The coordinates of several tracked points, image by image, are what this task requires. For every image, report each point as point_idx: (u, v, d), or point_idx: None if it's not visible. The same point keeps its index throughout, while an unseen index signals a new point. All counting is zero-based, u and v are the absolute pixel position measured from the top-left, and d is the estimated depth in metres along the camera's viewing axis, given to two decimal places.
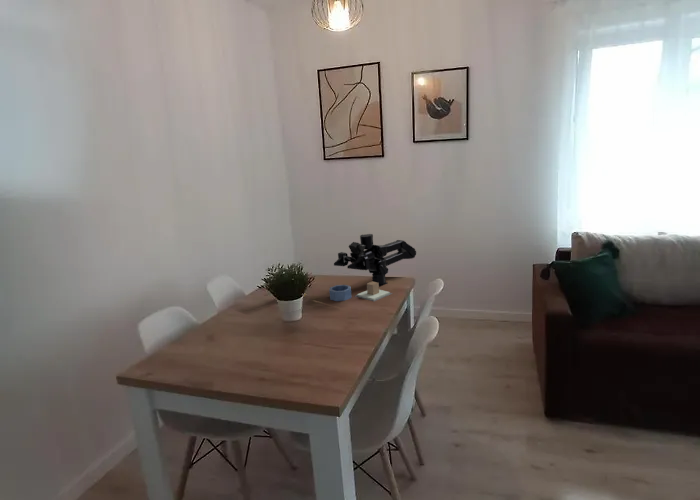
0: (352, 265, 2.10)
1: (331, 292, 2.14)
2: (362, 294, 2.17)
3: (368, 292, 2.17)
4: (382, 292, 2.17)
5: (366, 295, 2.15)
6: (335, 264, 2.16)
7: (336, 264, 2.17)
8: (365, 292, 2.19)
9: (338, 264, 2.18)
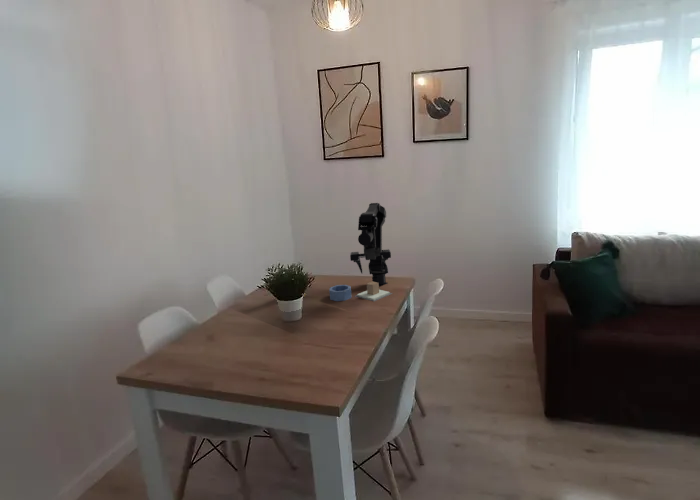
0: (383, 267, 2.14)
1: (331, 292, 2.14)
2: (362, 294, 2.17)
3: (368, 292, 2.17)
4: (382, 292, 2.17)
5: (366, 295, 2.15)
6: None
7: None
8: (365, 292, 2.19)
9: (361, 267, 2.15)
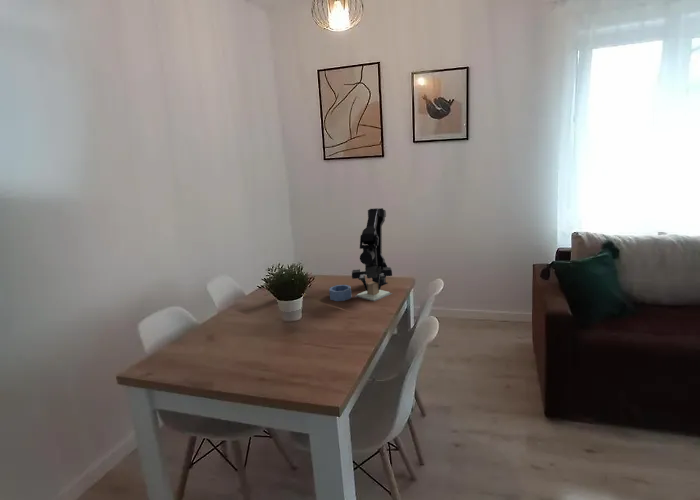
0: (380, 285, 2.16)
1: (331, 292, 2.14)
2: (362, 294, 2.17)
3: (368, 292, 2.17)
4: (382, 292, 2.17)
5: (366, 295, 2.15)
6: None
7: (366, 287, 2.17)
8: (365, 292, 2.19)
9: None
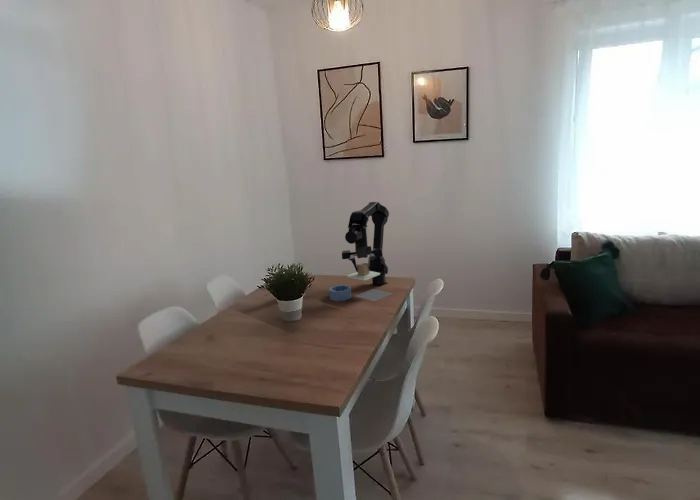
0: (371, 265, 2.14)
1: (331, 292, 2.14)
2: (352, 275, 2.14)
3: (358, 273, 2.14)
4: (372, 273, 2.15)
5: (356, 276, 2.12)
6: None
7: None
8: (355, 273, 2.17)
9: (356, 265, 2.15)
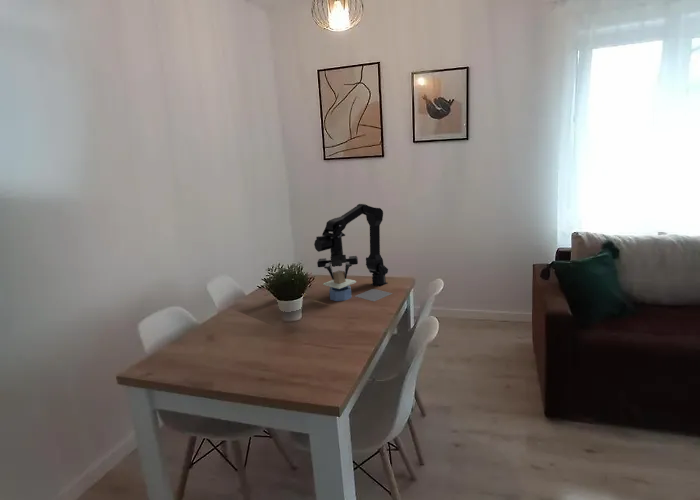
0: None
1: (331, 292, 2.14)
2: (328, 283, 2.16)
3: (334, 281, 2.16)
4: (348, 281, 2.16)
5: (332, 284, 2.14)
6: None
7: None
8: (332, 281, 2.18)
9: (332, 273, 2.16)
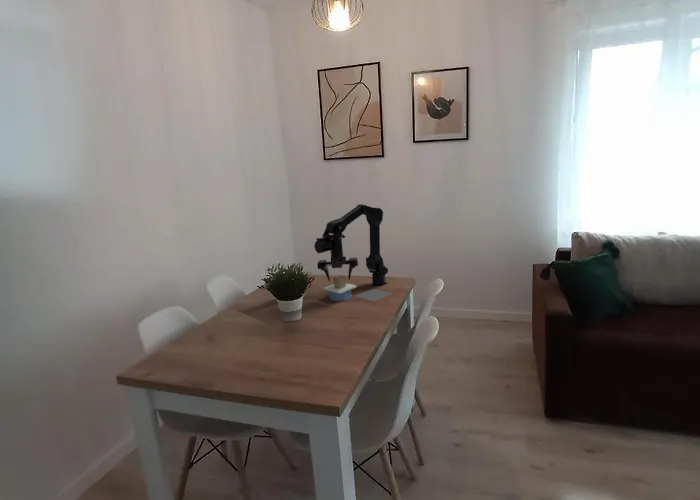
0: (350, 275, 2.15)
1: (331, 292, 2.14)
2: (329, 287, 2.16)
3: (335, 285, 2.16)
4: (348, 286, 2.16)
5: (332, 288, 2.14)
6: None
7: (329, 278, 2.16)
8: (332, 286, 2.19)
9: (329, 275, 2.16)
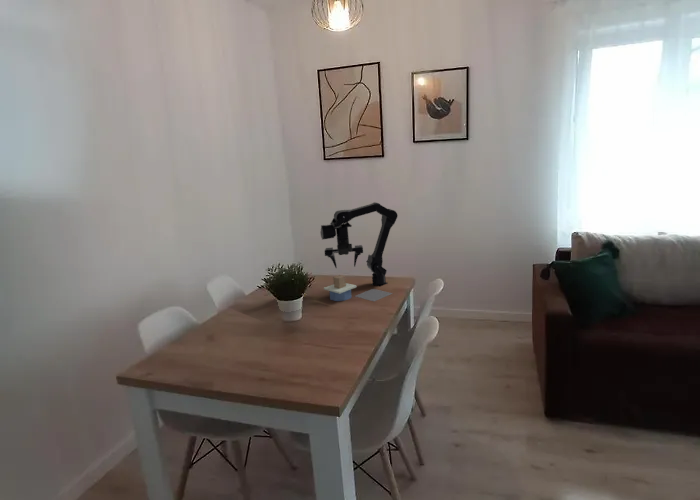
0: None
1: (331, 292, 2.14)
2: (329, 287, 2.16)
3: (335, 285, 2.16)
4: (348, 286, 2.16)
5: (332, 288, 2.14)
6: (336, 266, 2.26)
7: None
8: (332, 286, 2.19)
9: (335, 262, 2.26)
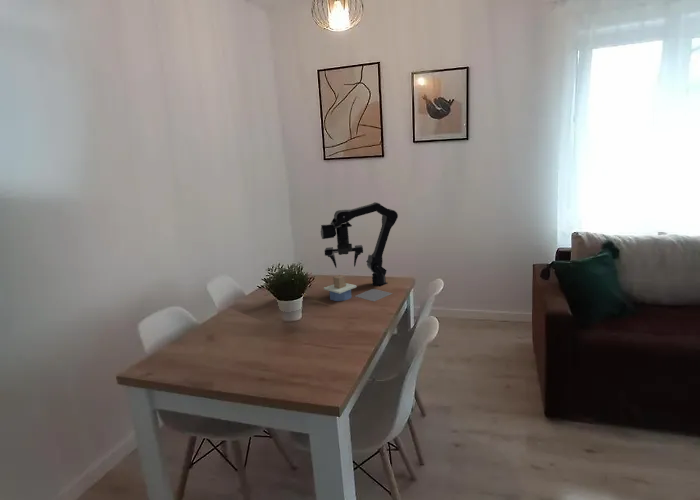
0: None
1: (331, 292, 2.14)
2: (329, 287, 2.16)
3: (335, 285, 2.16)
4: (348, 286, 2.16)
5: (332, 288, 2.14)
6: (336, 266, 2.26)
7: None
8: (332, 286, 2.19)
9: (335, 262, 2.27)
